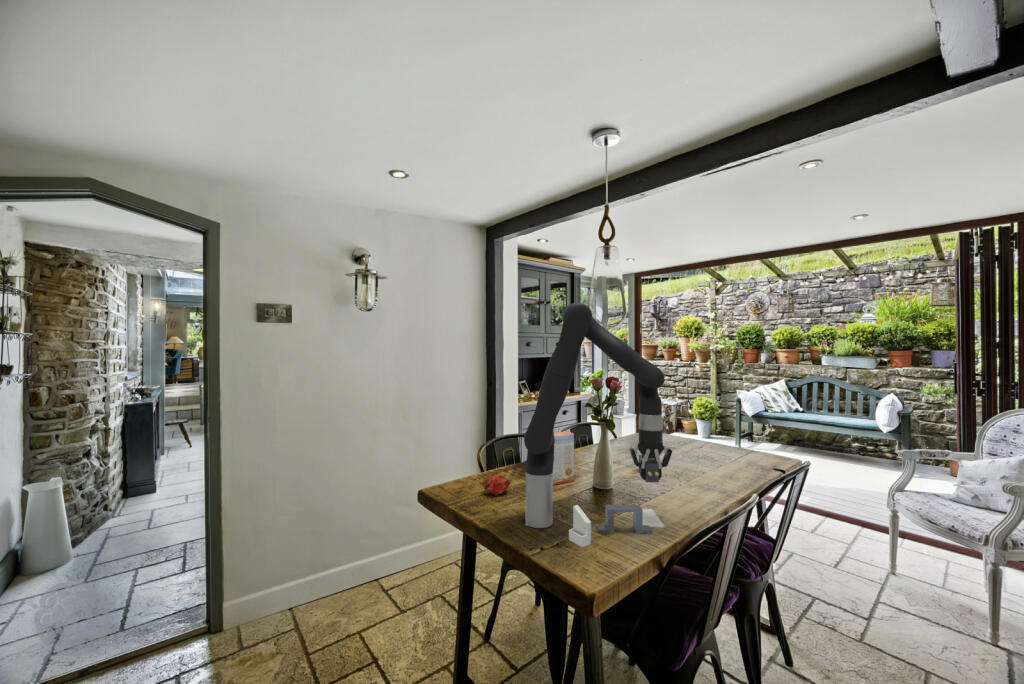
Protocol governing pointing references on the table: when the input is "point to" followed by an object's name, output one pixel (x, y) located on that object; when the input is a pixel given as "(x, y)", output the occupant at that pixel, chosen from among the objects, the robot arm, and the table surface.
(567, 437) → the cracker box
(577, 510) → the white wedge bracket
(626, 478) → the table surface
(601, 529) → the grey arch bracket
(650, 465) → the plug
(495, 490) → the dragon fruit
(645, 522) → the pad
